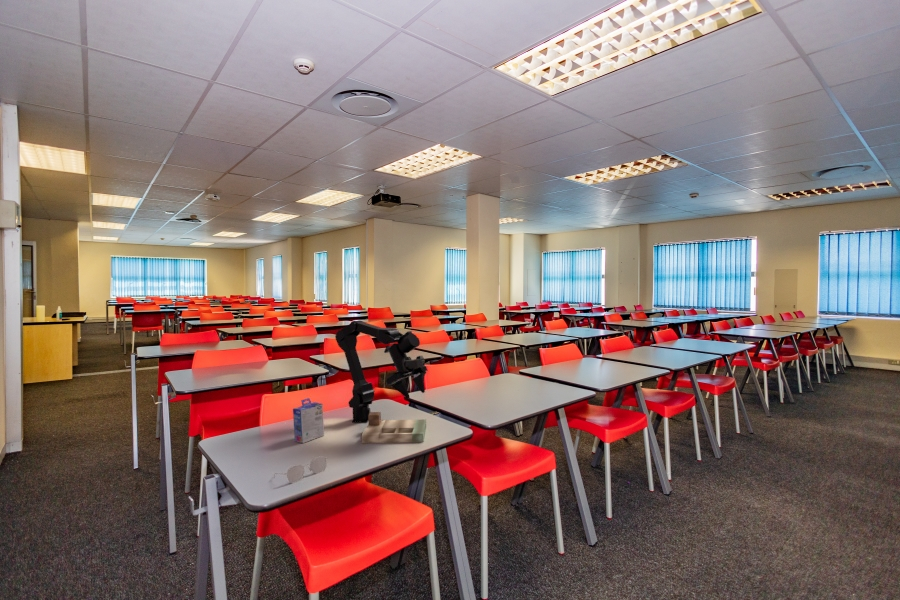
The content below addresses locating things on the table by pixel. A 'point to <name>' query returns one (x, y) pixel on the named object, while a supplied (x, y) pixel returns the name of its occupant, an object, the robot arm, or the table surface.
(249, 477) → the table surface
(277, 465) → the table surface
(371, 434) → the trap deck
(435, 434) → the table surface
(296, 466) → the sunglasses
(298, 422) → the ink cartridge box
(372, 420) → the walnut block
